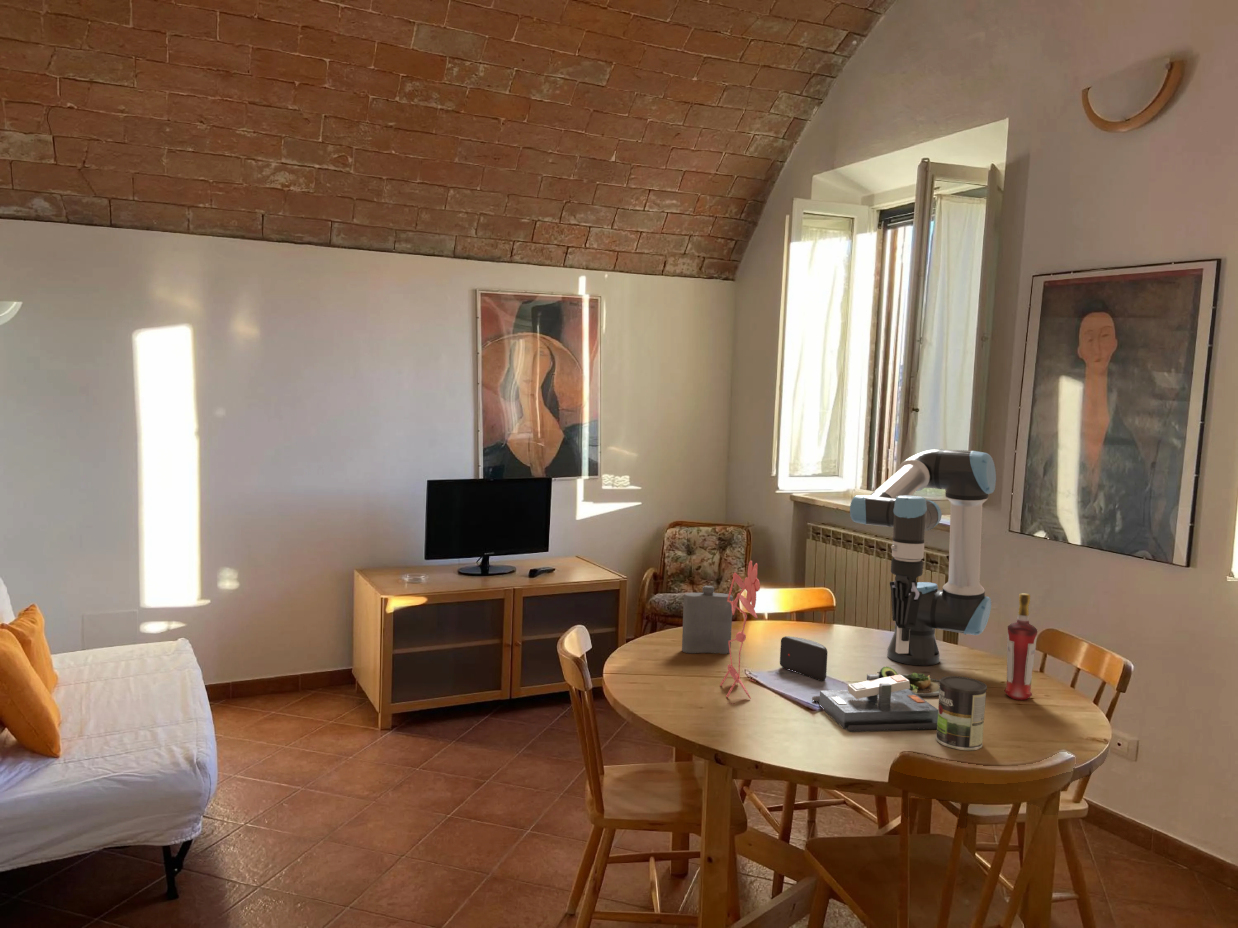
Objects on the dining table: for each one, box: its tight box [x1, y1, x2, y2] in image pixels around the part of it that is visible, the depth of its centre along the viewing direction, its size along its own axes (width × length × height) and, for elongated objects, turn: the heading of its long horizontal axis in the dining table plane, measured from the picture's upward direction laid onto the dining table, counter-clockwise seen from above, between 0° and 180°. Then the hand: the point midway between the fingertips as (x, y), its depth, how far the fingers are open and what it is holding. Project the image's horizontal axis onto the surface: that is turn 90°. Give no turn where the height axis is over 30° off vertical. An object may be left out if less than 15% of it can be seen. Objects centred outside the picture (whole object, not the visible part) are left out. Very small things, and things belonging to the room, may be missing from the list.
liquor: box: [1003, 592, 1039, 701], centre depth 247 cm, size 7×7×28 cm
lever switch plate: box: [818, 673, 938, 730], centre depth 229 cm, size 24×16×9 cm, turn 99°
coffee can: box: [935, 675, 988, 752], centre depth 213 cm, size 10×10×14 cm
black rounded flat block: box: [779, 635, 828, 681], centre depth 263 cm, size 16×5×9 cm, turn 39°
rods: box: [811, 695, 937, 732], centre depth 230 cm, size 24×22×1 cm
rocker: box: [847, 673, 910, 699], centre depth 229 cm, size 14×5×2 cm, turn 99°
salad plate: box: [876, 666, 940, 698], centre depth 253 cm, size 19×18×5 cm
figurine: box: [719, 560, 761, 705], centre depth 244 cm, size 15×26×35 cm, turn 4°
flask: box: [681, 585, 734, 655], centre depth 282 cm, size 15×6×20 cm, turn 93°
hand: (901, 652), depth 229 cm, fingers closed
